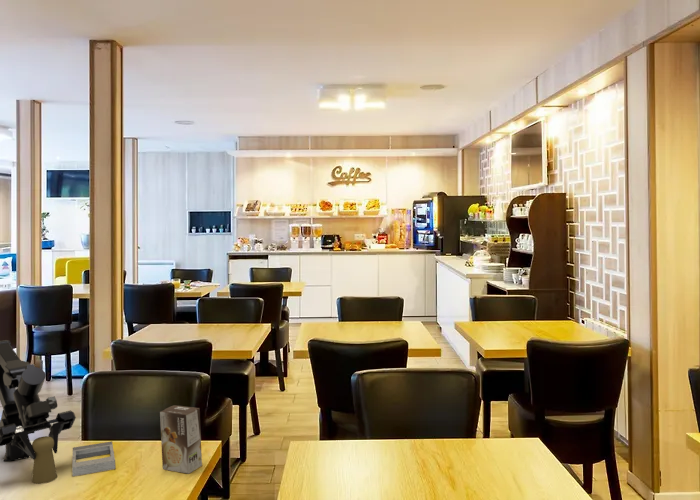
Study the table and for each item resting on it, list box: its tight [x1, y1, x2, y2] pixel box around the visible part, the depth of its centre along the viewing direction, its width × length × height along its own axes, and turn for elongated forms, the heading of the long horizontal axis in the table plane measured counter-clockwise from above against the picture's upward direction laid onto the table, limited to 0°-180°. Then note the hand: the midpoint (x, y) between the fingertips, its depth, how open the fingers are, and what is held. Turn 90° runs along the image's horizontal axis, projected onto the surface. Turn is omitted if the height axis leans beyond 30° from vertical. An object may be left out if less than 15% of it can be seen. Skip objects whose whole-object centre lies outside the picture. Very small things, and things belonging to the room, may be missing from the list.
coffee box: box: [159, 404, 203, 474], centre depth 164 cm, size 9×6×16 cm
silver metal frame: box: [71, 441, 116, 477], centre depth 169 cm, size 16×11×2 cm
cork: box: [31, 435, 58, 485], centre depth 158 cm, size 6×6×11 cm
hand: (45, 455), depth 157 cm, fingers closed on cork, 5 cm apart
